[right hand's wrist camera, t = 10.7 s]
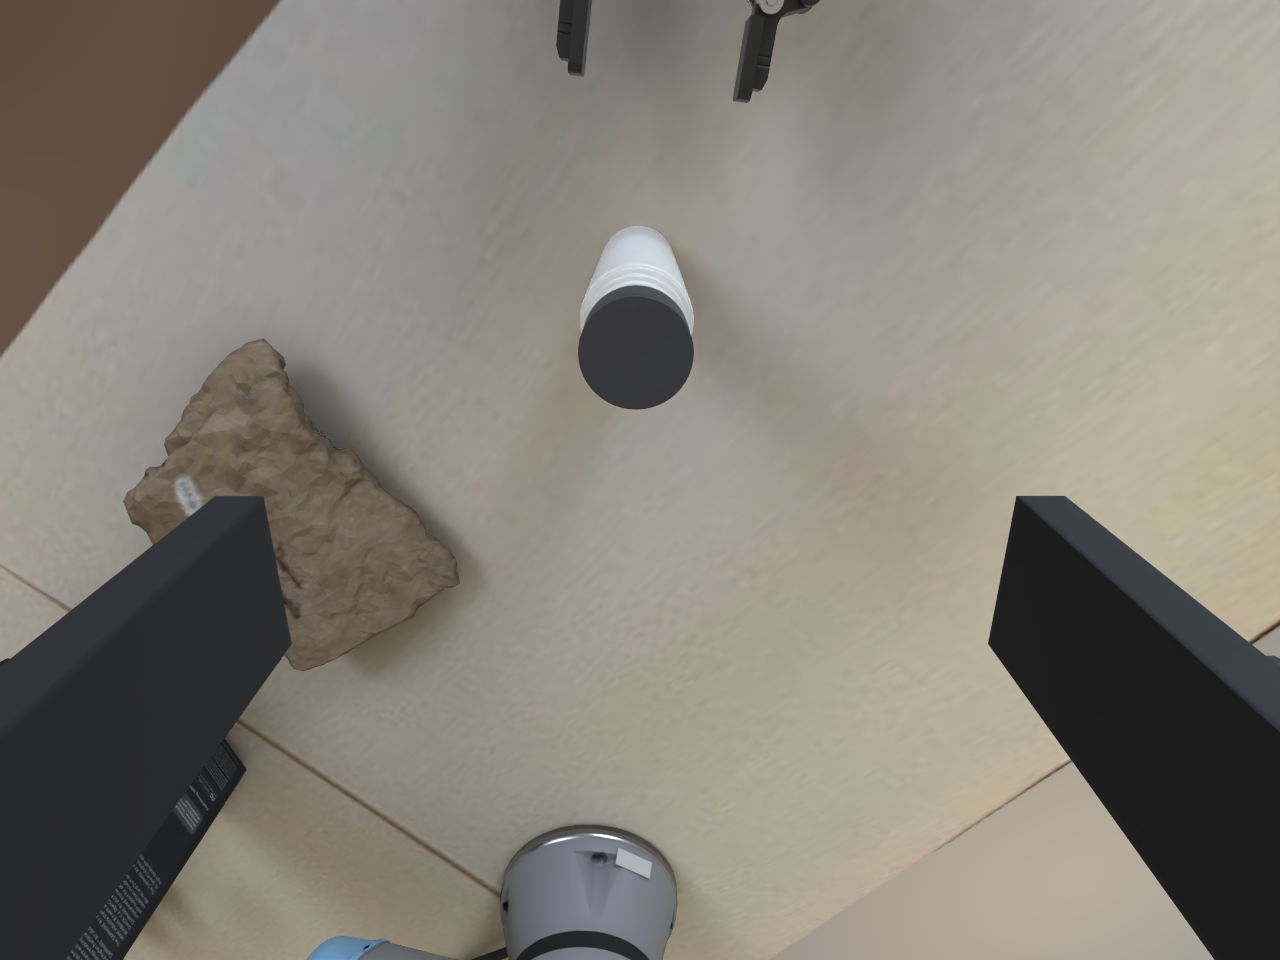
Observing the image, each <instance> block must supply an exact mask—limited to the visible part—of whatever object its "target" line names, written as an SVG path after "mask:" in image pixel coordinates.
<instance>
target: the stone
mask: <svg viewBox="0 0 1280 960" xmlns="http://www.w3.org/2000/svg"><path fill="white" fill-rule="evenodd" d="M285 365H286V364H285V361H284V357H283V356H282V355H281V354H280V353H279V352H277V351H276V350H274V349H273V348H272V347H271V345H270V344H269V343H268V342H267V341H266V340H264V339H260V340H256V341H252V342H249V343H246V344H245V345H243V346H242V347H241V348H240V349H238V350H236V351H234V352H232V353H230V354H229V355H228V356H227V357H226V358H225V359H224V360H223V361H222V362H221V363H220V365H219V366H218V367H217V368H216V369H215V370H214V371H213V372H212V373H211V375H210V376H209V377H208V378H207V379H206V381H205V382H204V384H203V386H202V388H201V390H200V391H199V392H198V393H197V394H196V395H194V396H193V397H191V400H190V403H189V405H188V406H187V407H186V408H185V409H184V412H183V415H182V418H181V421H180V422H179V423H178V425H177V426H176V428H175V429H174V431H173V432H172V433H171V434H170V435H169V436H168V437H167V438H166V439H165V448H166V451H167V454H168V456H169V457H168V459H166V460H165V462H164V463H163V464H162V465H161V466H160V467H149V468H148V469H146V472H145V476H144V478H143V479H142V480H141V481H140V483H139V484H138V485H137V486H136V487H135V488H134V489H132V490H131V491H129V492H127V495H126V497H125V499H124V501H123V502H124V504H125V507H126V509H127V512H128V515H129V517H130V520H131V522H132V524H135V525H138V526H140V527H141V528H142V529H143V530H144V531H146V532H147V534H148V536H149V538H150V540H151V541H152V543H153V545H154V544H156V543H157V542H158V541H159V540H161V539H162V538H163V537H164V536H166V535H167V534H168V533H169V532H171V531H172V530H173V529H174V528H176V527H177V526H178V525H179V524H181V523H182V522H183V521H184V520H186V519H187V518H188V517H189V516H191V515H192V514H193V513H194V512H196V511H197V510H198V509H200V508H201V507H202V506H203V505H205V504H206V503H207V502H208V501H210V500H211V499H212V498H213V497H215V496H264V501H265V506H266V512H267V517H268V522H269V527H270V532H271V538H272V543H273V548H274V553H275V559H276V564H277V569H278V574H279V579H280V585H281V590H282V595H283V600H284V605H285V611H286V616H287V621H288V626H289V632H290V637H291V642H292V644H291V646H290V647H289V648H288V650H287V651H286V653H285V654H284V655H285V656H286V657H287V658H288V660H289V662H290V665H291V666H292V667H293V668H294V669H297V670H300V671H305V670H309V669H311V668H314V667H317V666H321V665H324V664H326V663H328V662H330V661H332V660H334V659H336V658H338V657H340V656H342V655H344V654H346V653H348V652H349V651H350V650H352V649H353V648H354V647H355V646H357V645H359V644H361V643H363V642H365V641H367V640H369V639H370V638H372V637H374V636H375V635H376V634H378V633H381V632H383V631H385V630H388V629H390V628H392V627H394V626H395V625H397V624H399V623H401V622H403V621H405V620H407V619H410V618H412V617H413V616H414V614H415V612H416V610H417V608H418V607H420V606H421V605H423V604H424V603H426V602H427V601H429V600H430V599H431V598H432V597H433V596H435V595H436V594H437V593H439V592H440V591H442V590H443V589H444V588H446V587H454V586H456V585H457V584H459V583H460V582H459V576H458V573H457V570H456V566H457V563H456V560H455V558H454V556H453V555H452V554H451V552H450V551H449V550H448V549H447V548H446V547H445V546H444V545H443V544H441V542H439V541H438V540H437V539H436V538H434V537H433V536H431V535H429V534H428V533H427V532H426V529H425V526H424V525H423V524H422V523H421V521H420V519H419V517H418V515H417V513H416V512H415V511H414V510H412V509H411V508H410V507H408V506H407V505H405V504H402V503H401V502H400V501H399V500H398V499H397V498H394V497H392V496H391V495H389V494H388V493H387V492H386V491H384V490H383V489H382V488H381V486H380V484H379V482H378V480H377V479H376V477H375V476H374V475H372V474H371V473H370V472H368V471H367V470H366V468H365V467H364V466H363V464H362V463H361V461H360V459H359V457H358V455H357V454H356V453H355V452H354V451H353V450H351V449H349V448H348V449H342V450H337V449H335V448H334V446H333V444H332V442H331V441H330V440H329V439H327V438H326V437H324V436H322V435H320V433H319V432H318V431H315V430H314V429H313V426H312V423H311V420H310V417H308V416H307V415H306V414H305V413H304V411H303V407H304V404H303V402H302V400H301V398H300V396H299V394H298V393H297V391H295V390H294V389H293V388H292V387H291V386H290V385H289V380H288V377H287V374H286V372H285V371H284V370H283V369H284V367H285Z"/></svg>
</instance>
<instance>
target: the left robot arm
mask: <svg viewBox="0 0 1280 960" xmlns="http://www.w3.org/2000/svg"><path fill="white" fill-rule="evenodd" d="M819 1H820V0H747V2H748V4H749V6H750V8H751V11H752V13H751V16H750V17H749V18H748V20H747V21H746V23H745V29H744V35H743V41H742V47H741V53H740V59H739V65H738V71H737V77H736V83H735V89H734V95H733V101H737V102H743V103H747V102H749V101H750V99H751V95H752V91H755V92H759V91H760V90H762V88H763V86H764V85H765V83H766V81H767V79H768V73H769V67H770V62H771V56H772V51H773V46H774V40H775V34H776V29H777V24H778V22H779V20H780V19H781V18H782V17H785V16H788V15H793V14H797V13H798V14H803V13H806V12H807V11H809V10H810V9H811V8H812V6H814V5H815V4H817V3H818V2H819ZM591 4H592V0H560V10H559V23H558V33H557V44H556V46H557V50H558V54H559V57H560V59H561V60H562V61H568V73H569V74H570V75H575V76H582V77H584V72H585V63H586V53H587V43H588V33H589V24H590V14H591Z"/></svg>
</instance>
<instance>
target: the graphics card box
mask: <svg viewBox="0 0 1280 960" xmlns="http://www.w3.org/2000/svg"><path fill="white" fill-rule="evenodd" d="M245 771H246V768H245V766H244V765H243V764H242V762H241V761H240V760H239V759H238V757H237V756H236V754H235V753H234V752H233V750H232V749H231V748H230V746H229V744H228V743H227V742H226V740H225V739H223V741H222V742H221V743H220V745H219V746H218V748H217V749H216V750H215V752H214V753H213V754H212V756H211V757H210V759H209V760H208V761H207V763H206V764H205V766H204V767H203V768H202V770H201V771H200V773H199V774H198V775H197V777H196V778H195V780H194V781H193V782H192V784H191V785H190V787H189V788H188V789H187V791H186V792H185V794H184V795H183V796H182V798H181V799H180V801H179V802H178V803H177V805H176V806H175V808H174V809H173V810H172V812H171V813H170V814H169V816H168V817H167V819H166V820H165V821H164V823H163V824H162V826H161V827H160V828H159V830H158V831H157V833H156V834H155V835H154V837H153V838H152V840H151V841H150V842H149V844H148V845H147V847H146V848H145V849H144V851H143V852H142V854H141V855H140V856H139V858H138V859H137V861H136V862H135V863H134V865H133V866H132V868H131V869H130V870H129V872H128V873H127V874H126V876H125V877H124V879H123V880H122V881H121V883H120V884H119V886H118V887H117V888H116V890H115V891H114V893H113V894H112V895H111V897H110V898H109V900H108V901H107V902H106V904H105V905H104V907H103V908H102V909H101V911H100V912H99V914H98V915H97V916H96V918H95V919H94V921H93V922H92V923H91V925H90V926H89V928H88V929H87V930H86V932H85V933H84V934H83V936H82V937H81V939H80V940H79V941H78V943H77V944H76V946H75V947H74V948H73V950H72V951H71V953H70V954H69V955H68V957H67V958H66V960H123V959H124V957H125V956H126V954H127V952H128V951H129V949H130V948H131V946H132V945H133V943H134V942H135V940H136V938H137V937H138V935H139V934H140V932H141V931H142V929H143V928H144V926H145V925H146V923H147V922H148V920H149V919H150V917H151V916H152V914H153V912H154V911H155V909H156V908H157V906H158V905H159V903H160V902H161V900H162V899H163V897H164V896H165V894H166V893H167V891H168V890H169V888H170V886H171V885H172V883H173V882H174V880H175V879H176V877H177V876H178V874H179V873H180V871H181V870H182V868H183V867H184V865H185V864H186V862H187V861H188V859H189V858H190V856H191V855H192V853H193V852H194V850H195V849H196V847H197V846H198V844H199V843H200V841H201V839H202V838H203V836H204V835H205V833H206V832H207V830H208V829H209V827H210V826H211V824H212V823H213V821H214V819H215V818H216V816H217V815H218V813H219V812H220V810H221V809H222V807H223V806H224V804H225V802H226V801H227V799H228V798H229V796H230V795H231V793H232V792H233V790H234V788H235V787H236V785H237V784H238V782H239V781H240V779H241V778H242V776H243V774H244V773H245Z"/></svg>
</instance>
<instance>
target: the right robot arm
mask: <svg viewBox="0 0 1280 960" xmlns="http://www.w3.org/2000/svg"><path fill="white" fill-rule="evenodd" d="M291 644H292V642H291V637H290V632H289V626H288V621H287V616H286V611H285V605H284V600H283V595H282V590H281V585H280V579H279V574H278V569H277V564H276V559H275V553H274V548H273V543H272V538H271V532H270V527H269V522H268V517H267V512H266V506H265V501H264V496H215V497H213V498H212V499H211V500H210V501H208V502H207V503H206V504H205V505H203V506H202V507H201V508H200V509H198V510H197V511H196V512H194V513H193V514H192V515H191V516H189V517H188V518H187V519H186V520H184V521H183V522H182V523H181V524H179V525H178V526H177V527H176V528H174V529H173V530H172V531H171V532H169V533H168V534H167V535H166V536H164V537H163V538H162V539H161V540H159V541H158V542H157V543H156V544H154V545H153V546H152V547H150V548H149V549H148V550H147V551H145V552H144V553H143V554H142V555H140V556H139V557H138V558H137V559H135V560H134V561H133V562H132V563H130V564H129V565H128V566H127V567H125V568H124V569H123V570H122V571H120V572H119V573H118V574H117V575H115V576H114V577H113V578H112V579H110V580H109V581H108V582H106V583H105V584H104V585H103V586H101V587H100V588H99V589H98V590H96V591H95V592H94V593H93V594H91V595H90V596H89V597H88V598H86V599H85V600H84V601H83V602H81V603H80V604H79V605H78V606H76V607H75V608H74V609H73V610H71V611H70V612H69V613H68V614H66V615H65V616H64V617H63V618H61V619H60V620H59V621H57V622H56V623H55V624H54V625H52V626H51V627H50V628H49V629H47V630H46V631H45V632H44V633H42V634H41V635H40V636H39V637H37V638H36V639H35V640H34V641H32V642H31V643H30V644H29V645H27V646H26V647H25V648H24V649H22V650H21V651H20V652H19V653H17V654H16V655H15V656H13V657H12V658H11V659H5V660H3V661H1V662H0V960H66V958H67V957H68V955H69V954H70V953H71V951H72V950H73V948H74V947H75V946H76V944H77V943H78V941H79V940H80V939H81V937H82V936H83V934H84V933H85V932H86V930H87V929H88V928H89V926H90V925H91V923H92V922H93V921H94V919H95V918H96V916H97V915H98V914H99V912H100V911H101V909H102V908H103V907H104V905H105V904H106V902H107V901H108V900H109V898H110V897H111V895H112V894H113V893H114V891H115V890H116V888H117V887H118V886H119V884H120V883H121V881H122V880H123V879H124V877H125V876H126V874H127V873H128V872H129V870H130V869H131V868H132V866H133V865H134V863H135V862H136V861H137V859H138V858H139V856H140V855H141V854H142V852H143V851H144V849H145V848H146V847H147V845H148V844H149V842H150V841H151V840H152V838H153V837H154V835H155V834H156V833H157V831H158V830H159V828H160V827H161V826H162V824H163V823H164V821H165V820H166V819H167V817H168V816H169V814H170V813H171V812H172V810H173V809H174V808H175V806H176V805H177V803H178V802H179V801H180V799H181V798H182V796H183V795H184V794H185V792H186V791H187V789H188V788H189V787H190V785H191V784H192V782H193V781H194V780H195V778H196V777H197V775H198V774H199V773H200V771H201V770H202V768H203V767H204V766H205V764H206V763H207V761H208V760H209V759H210V757H211V756H212V754H213V753H214V752H215V750H216V749H217V748H218V746H219V745H220V743H221V742H222V741H223V739H224V738H225V736H226V735H227V734H228V732H229V731H230V729H231V728H232V727H233V725H234V724H235V722H236V721H237V720H238V718H239V717H240V715H241V714H242V713H243V711H244V710H245V708H246V707H247V706H248V704H249V703H250V701H251V700H252V699H253V697H254V696H255V695H256V693H257V692H258V690H259V689H260V688H261V686H262V685H263V683H264V682H265V681H266V679H267V678H268V676H269V675H270V674H271V672H272V671H273V669H274V668H275V667H276V665H277V664H278V662H279V661H280V660H281V658H282V657H283V655H284V654H285V653H286V651H287V650H288V648H289V647H290V646H291ZM988 644H989V646H990V647H991V648H992V650H993V651H994V653H995V654H996V655H997V657H998V658H999V660H1000V661H1001V662H1002V664H1003V665H1004V667H1005V668H1006V669H1007V671H1008V672H1009V674H1010V675H1011V676H1012V678H1013V679H1014V681H1015V682H1016V683H1017V685H1018V686H1019V688H1020V689H1021V690H1022V692H1023V693H1024V694H1025V696H1026V697H1027V699H1028V700H1029V701H1030V703H1031V704H1032V706H1033V707H1034V708H1035V710H1036V711H1037V713H1038V714H1039V715H1040V717H1041V718H1042V720H1043V721H1044V722H1045V724H1046V725H1047V727H1048V728H1049V729H1050V731H1051V732H1052V734H1053V735H1054V736H1055V738H1056V739H1057V741H1058V742H1059V743H1060V745H1061V746H1062V748H1063V749H1064V750H1065V752H1066V753H1067V754H1068V756H1069V757H1070V759H1071V760H1072V761H1073V763H1074V764H1075V766H1076V767H1077V768H1078V770H1079V771H1080V773H1081V774H1082V775H1083V777H1084V778H1085V780H1086V781H1087V782H1088V784H1089V785H1090V786H1091V788H1092V789H1093V791H1094V792H1095V794H1096V795H1097V796H1098V798H1099V799H1100V801H1101V802H1102V803H1103V805H1104V806H1105V808H1106V809H1107V810H1108V812H1109V813H1110V814H1111V816H1112V817H1113V819H1114V820H1115V821H1116V823H1117V824H1118V826H1119V827H1120V828H1121V830H1122V831H1123V832H1124V834H1125V835H1126V837H1127V838H1128V840H1129V841H1130V842H1131V844H1132V845H1133V847H1134V848H1135V849H1136V851H1137V852H1138V853H1139V855H1140V856H1141V858H1142V859H1143V861H1144V862H1145V863H1146V865H1147V866H1148V867H1149V869H1150V870H1151V872H1152V873H1153V874H1154V876H1155V877H1156V879H1157V880H1158V881H1159V883H1160V884H1161V886H1162V887H1163V888H1164V890H1165V891H1166V893H1167V894H1168V895H1169V897H1170V898H1171V900H1172V901H1173V902H1174V904H1175V905H1176V907H1177V908H1178V909H1179V911H1180V912H1181V914H1182V915H1183V916H1184V918H1185V919H1186V921H1187V922H1188V923H1189V925H1190V926H1191V927H1192V929H1193V930H1194V932H1195V933H1196V934H1197V936H1198V937H1199V939H1200V940H1201V941H1202V943H1203V944H1204V946H1205V947H1206V948H1207V950H1208V951H1209V953H1210V954H1211V955H1212V957H1213V958H1214V960H1280V658H1278V657H1276V656H1265V655H1264V654H1263V653H1261V652H1260V651H1259V650H1258V649H1256V648H1255V647H1254V646H1253V645H1251V644H1250V643H1249V642H1248V641H1246V640H1245V639H1244V638H1243V637H1241V636H1240V635H1239V634H1238V633H1236V632H1235V631H1234V630H1233V629H1231V628H1230V627H1229V626H1228V625H1226V624H1225V623H1224V622H1223V621H1221V620H1220V619H1219V618H1218V617H1216V616H1215V615H1214V614H1212V613H1211V612H1210V611H1209V610H1207V609H1206V608H1205V607H1204V606H1202V605H1201V604H1200V603H1199V602H1197V601H1196V600H1195V599H1194V598H1192V597H1191V596H1190V595H1189V594H1187V593H1186V592H1185V591H1184V590H1182V589H1181V588H1180V587H1179V586H1177V585H1176V584H1175V583H1174V582H1172V581H1171V580H1170V579H1168V578H1167V577H1166V576H1165V575H1163V574H1162V573H1161V572H1160V571H1158V570H1157V569H1156V568H1155V567H1153V566H1152V565H1151V564H1150V563H1148V562H1147V561H1146V560H1145V559H1143V558H1142V557H1141V556H1140V555H1138V554H1137V553H1136V552H1135V551H1133V550H1132V549H1131V548H1130V547H1128V546H1127V545H1126V544H1124V543H1123V542H1122V541H1121V540H1119V539H1118V538H1117V537H1116V536H1114V535H1113V534H1112V533H1111V532H1109V531H1108V530H1107V529H1106V528H1104V527H1103V526H1102V525H1101V524H1099V523H1098V522H1097V521H1096V520H1094V519H1093V518H1092V517H1091V516H1089V515H1088V514H1087V513H1086V512H1084V511H1083V510H1082V509H1080V508H1079V507H1078V506H1077V505H1075V504H1074V503H1073V502H1072V501H1070V500H1069V499H1068V498H1067V497H1065V496H1016V501H1015V506H1014V512H1013V517H1012V522H1011V527H1010V533H1009V538H1008V543H1007V548H1006V553H1005V559H1004V564H1003V569H1002V574H1001V579H1000V585H999V590H998V595H997V600H996V605H995V611H994V616H993V621H992V626H991V632H990V637H989V642H988ZM500 902H501V904H500V910H501V919H502V923H503V929H504V936H505V941H506V947H504V948H502V949H499V950H497V951H494V952H491V953H489V954H486V955H483V956H480V957H477V958H474V959H472V960H502V959H504V958H507V957H508V958H509V960H662V959H663V955H664V951H665V947H666V943H667V941H668V939H669V937H670V935H671V933H672V930H673V927H674V923H675V919H676V911H677V888H676V880H675V876H674V874H673V871H672V869H671V867H670V865H669V863H668V862H667V860H666V859H665V858H664V856H663V855H662V854H661V853H660V852H659V851H658V850H657V849H656V848H655V847H653V846H652V845H651V844H650V843H648V842H646V841H645V840H643V839H642V838H640V837H638V836H636V835H634V834H631V833H629V832H626V831H623V830H620V829H616V828H612V827H606V826H598V825H576V826H569V827H564V828H559V829H556V830H553V831H550V832H547V833H545V834H542V835H540V836H538V837H536V838H535V839H533V840H532V841H530V842H529V843H527V844H526V845H525V846H523V847H522V848H521V849H520V850H519V851H518V852H517V853H516V855H515V856H514V857H513V858H512V860H511V861H510V863H509V865H508V867H507V869H506V872H505V875H504V880H503V885H502V890H501V898H500ZM307 960H456V959H452V958H448V957H444V956H440V955H436V954H432V953H428V952H424V951H420V950H416V949H412V948H408V947H404V946H400V945H396V944H392V943H391V942H390V941H388V940H382V939H379V940H375V941H372V940H366V939H360V938H354V937H349V936H339V937H335V938H331V939H328V940H326V941H325V942H323V943H322V944H321V945H319V946H318V947H317V948H316V949H315V950H314V951H313V952H312V953H311V955H310V956H309V957H308V958H307Z"/></svg>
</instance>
